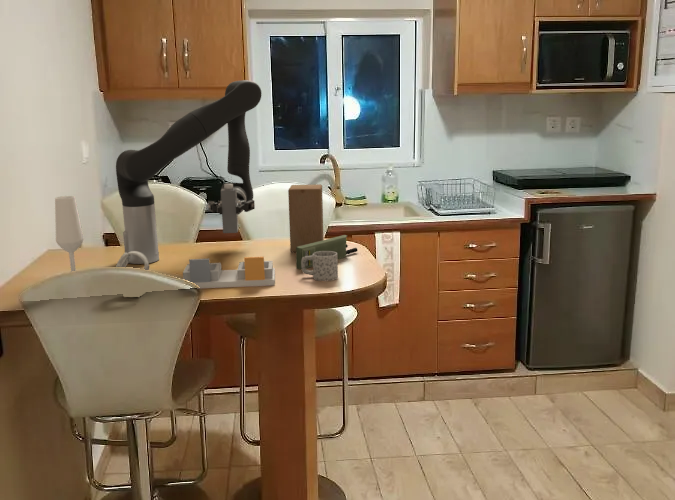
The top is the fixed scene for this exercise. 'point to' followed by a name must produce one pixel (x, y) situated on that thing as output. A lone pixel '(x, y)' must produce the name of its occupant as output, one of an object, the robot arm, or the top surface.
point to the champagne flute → (68, 226)
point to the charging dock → (230, 273)
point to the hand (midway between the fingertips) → (229, 210)
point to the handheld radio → (323, 249)
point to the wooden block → (305, 215)
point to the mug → (322, 265)
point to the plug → (229, 209)
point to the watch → (126, 258)
